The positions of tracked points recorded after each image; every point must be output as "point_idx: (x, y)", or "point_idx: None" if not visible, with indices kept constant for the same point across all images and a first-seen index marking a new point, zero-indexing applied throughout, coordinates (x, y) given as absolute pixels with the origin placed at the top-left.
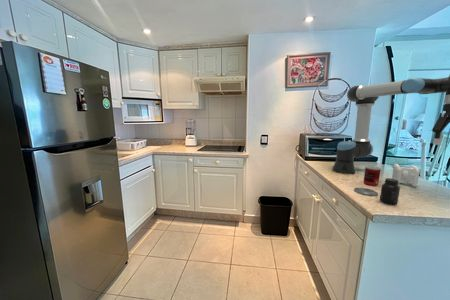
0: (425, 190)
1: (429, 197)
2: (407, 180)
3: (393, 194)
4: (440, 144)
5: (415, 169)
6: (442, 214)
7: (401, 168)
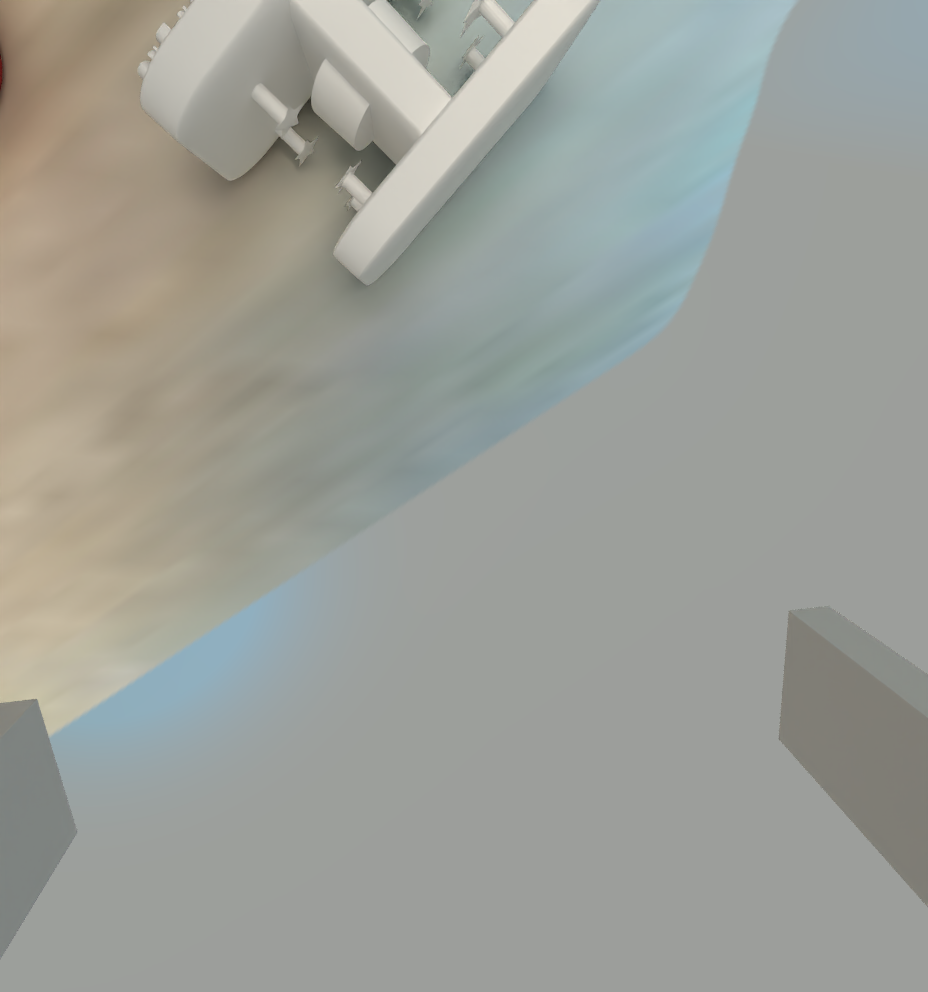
0: (399, 351)
1: (244, 498)
2: (383, 149)
3: None
4: (58, 847)
5: (357, 212)
6: None
7: (303, 24)
